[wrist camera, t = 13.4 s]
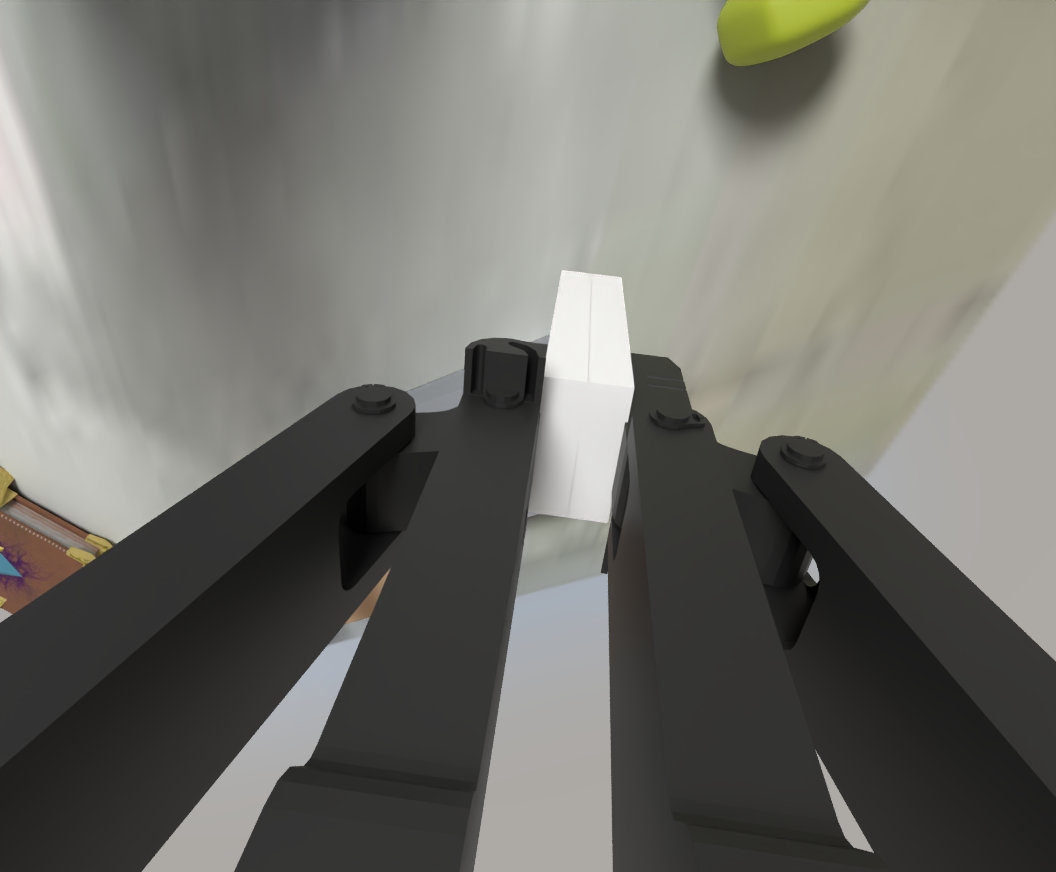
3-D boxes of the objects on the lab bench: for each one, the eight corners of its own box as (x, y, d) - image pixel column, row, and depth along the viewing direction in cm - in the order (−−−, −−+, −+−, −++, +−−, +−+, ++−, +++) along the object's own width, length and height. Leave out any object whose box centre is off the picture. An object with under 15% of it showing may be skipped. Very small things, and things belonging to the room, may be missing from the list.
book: (118, 634, 71) (86, 673, 66) (-113, 513, 65) (-165, 546, 61) (167, 551, 63) (133, 588, 58) (-92, 404, 57) (-150, 434, 53)
